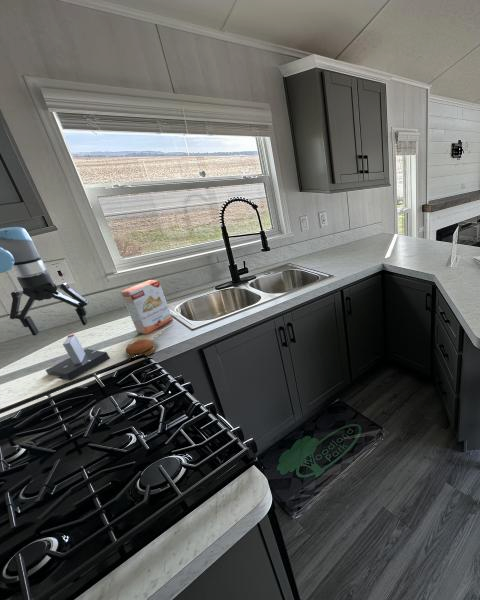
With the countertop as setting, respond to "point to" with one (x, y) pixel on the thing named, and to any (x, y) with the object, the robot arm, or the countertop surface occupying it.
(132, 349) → the burger
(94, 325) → the countertop surface
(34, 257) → the robot arm
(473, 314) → the countertop surface
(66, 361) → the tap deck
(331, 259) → the countertop surface
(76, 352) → the tap handle
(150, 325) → the cracker box
